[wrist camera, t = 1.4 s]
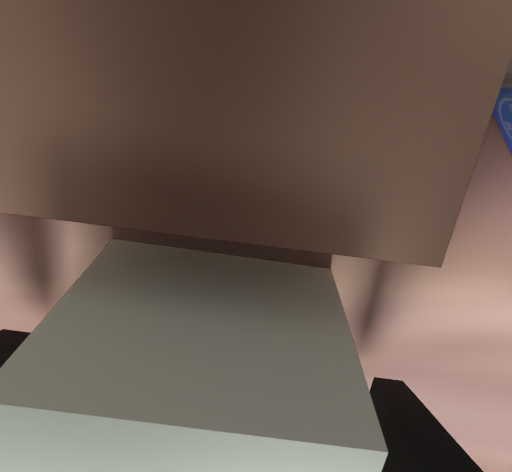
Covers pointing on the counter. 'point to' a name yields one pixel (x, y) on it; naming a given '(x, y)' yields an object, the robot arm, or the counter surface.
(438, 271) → the counter surface
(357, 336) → the counter surface
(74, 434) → the sage cube
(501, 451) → the counter surface
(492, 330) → the counter surface
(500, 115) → the medicine box
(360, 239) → the walnut block
